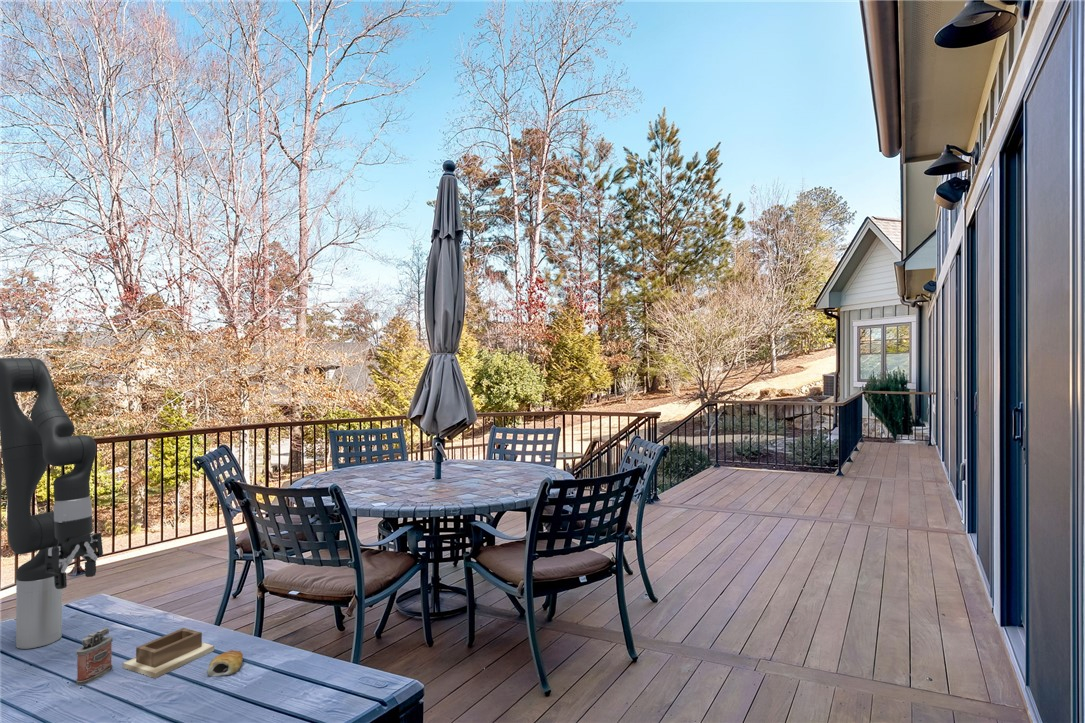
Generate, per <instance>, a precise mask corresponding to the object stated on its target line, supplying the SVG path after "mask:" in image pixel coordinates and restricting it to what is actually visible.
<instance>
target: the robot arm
mask: <svg viewBox="0 0 1085 723" xmlns="http://www.w3.org/2000/svg"><path fill="white" fill-rule="evenodd" d="M29 392H35V393H36V394H37V396H38V397H37V399H36V400H35V402H34V404H33V405H32V406H33V407H32V408H31V410H30V419H29V417H27V415H26V414H25V413H24V412H23V411H22V409H21V407H20V406H19V404H18V401H17V398H16V396H15V393H29ZM75 429H76V428H75V425H74V422H72V419H71V418H70V417H69V415H68V414H67V412H66V410H65V409H64V408H63V406H62V404H61V402H60V399H59V396H58V394H57V391H56V388H55V384H54V381H53V380H52V376H51V374H50V372H49V369H48V367H47V365H46V364H45V362H44V361H43V360H41V359H40V358H35V357H11V358H10V357H6V358H4V357H2V358H1V357H0V450H1V458H2V459H1V460H2V466H3V467H2V468H3V471H4V479H5V487H6V502H7V503H6V504H7V505H6V506H7V507H6V512H7V513H6V514H7V515H6V516H7V517H6V518H7V519H6V520H7V523H6V527H7V539H8V543H9V544H8V545H9V547H10V549H11V551H12V552H13V553H15V554H17V555H24V554H28V553H32V552H37V551H38V552H37V553H36V554H35V555H34V556H33V557H32V558H31V559H29V560H28V561H26V562H24V563H23V564H21V565H20V566H19V567H18V568H17V569H16V573H15V574H16V578H15V579H16V583H15V584H16V587H15V588H16V590H15V591H16V592H15V593H16V596H15V597H16V600H15V601H16V602H15V603H16V606H15V646H16V648H17V649H21V650H22V649H24V650H25V649H26V650H27V649H34V648H40V647H44V646H47V645H50V644H53V643H54V642H57V641H59V640H60V639H61V638H62V633H63V632H62V631H63V628H62V626H63V625H62V624H63V616H62V615H63V589H66V588H67V586H68V585H67V584H68V583H67V572H66V570H67V568H68V566H69V565H70V564H72V562H73V560H75V559H77V558H79V557H80V558H82V559H83V560H84V576H85V577H86V578H90V577H91V578H93V577H94V576H96V573H97V560H98V558H99V557H101V556H103V554H104V549H103V540H102V539H103V538H102V534H101V532H99V533H92V532H94V528H93V526H94V525H93V524H94V523H93V508H92V507H93V506H92V500H91V490H90V489H91V488H90V478H91V474H92V470H93V466H94V462H95V459H96V455H97V446H98V445H97V443H96V441H95V439H94V438H93V437H92V436H90V435H88V434H87V435H86V434H79V435H73V434H74V433H75ZM48 465H50V466H52V467H63V466H69V465H74V466H73V469H72V470H71V471H70V472H68V473H65V474H62V475H60V476H59V475H58V476H57V477H56V478H55V479H54V480H53V498H54V499H53V500H54V502H53V511H48V512H43V513H38V514H33V515H32V514H31V513H32V512H31V509H32V508H31V505H32V499H33V495H34V492H35V490H36V488H37V486H38V484H39V483H40V481H41V479H42V478H43V477H44V474H45V472H46V470H47V469H48Z"/></svg>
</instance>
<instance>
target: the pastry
mask: <svg viewBox="0 0 1085 723" xmlns="http://www.w3.org/2000/svg"><path fill="white" fill-rule="evenodd" d="M243 655H244V654H243V652H241V650H240V651H238V650H231V649H230V650H229V651H228V650H227V651H225V652H223V653H220V654H219V655H215V657H214V658H213V659H211V661H210V663H209V665H208V669H207V670H206V674H207V675H208V676H209V677H211V678H213V677H214V678H215V677H222V676H230V674H231V675H233V674H235V673H237V672H238V671H239V670H240V669H241V667H242V664H243V659H244V658H243Z"/></svg>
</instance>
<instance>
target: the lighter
mask: <svg viewBox="0 0 1085 723" xmlns="http://www.w3.org/2000/svg"><path fill="white" fill-rule="evenodd" d="M108 634H110V629H109V627H105V628H102V629H101V630H98V631H97V632H91V633H89V634H88V635H87V637H84V638H82V639H81V640H82V641H81V644H82V646H81V647H80V648H77V650H76V652H75V653H76V654H75V655H77V663H76V664H77V666H76V667H77V671H76V672H77V674H76V675H77V678H76V680H75V681H76V682H75V683H76V685H77V686H83V685H87V684H88V683H91V682H94V681H96V680H97V679H99V678H101V677H103V676H104V675H106V674H108V673H110V672H111V671H113V664H112V653H113V652H112V650H113V649H112V646H113V645H112V644H113V643H112V642H113V640H114V639H113V636H112V635H109V636H106V635H108ZM109 671H110V672H109Z"/></svg>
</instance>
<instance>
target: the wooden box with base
mask: <svg viewBox="0 0 1085 723" xmlns="http://www.w3.org/2000/svg"><path fill="white" fill-rule="evenodd" d="M135 649H136V651H135V657H134V658H131V659H129V660H127V661H124V662H122V669H125V670H127V669H128V670H127V671H131V672H134V671H135V672H134V673H137V672H138V673H137V674H140V673H141V675H143V674H144V675H143V676H146V675H147V677H150V678H153V679H157V678H159V677H161V676H163V675H165V674H168V673H169V672H172V671H174V670H175V669H178V668H180V667H182V666H184V665H186V664H187V665H188V664H189V663H192V662H193V661H195V660H197V659H199V658H202V657H204V656H205V655H209V654H210V653H212V652H214V651H215V645H212V644H209V643H205V642H203V633H202V631H201V632H200V631H197V630H193V629H189V628H185V627H183V628H180V629H178V630H175V631H173V632H170V633H167V634H165V635H163V636H161V637H159V638H156V639H154V640H151V641H148V642H146V643H144V644H141V645H139V646H136V648H135ZM173 669H174V670H173Z"/></svg>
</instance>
